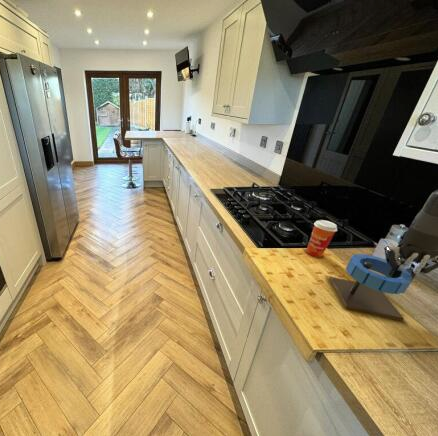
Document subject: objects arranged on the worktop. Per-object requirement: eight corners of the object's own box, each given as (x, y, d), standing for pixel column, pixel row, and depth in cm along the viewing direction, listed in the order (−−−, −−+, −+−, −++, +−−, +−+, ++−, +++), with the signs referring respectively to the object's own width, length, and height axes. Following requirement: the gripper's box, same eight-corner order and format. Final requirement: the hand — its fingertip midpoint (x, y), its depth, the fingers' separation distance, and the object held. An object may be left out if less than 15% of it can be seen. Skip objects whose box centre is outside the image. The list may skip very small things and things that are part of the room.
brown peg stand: (376, 288, 80) (395, 256, 74) (402, 321, 68) (428, 286, 62) (328, 279, 83) (344, 247, 77) (345, 308, 71) (364, 273, 65)
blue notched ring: (388, 269, 76) (394, 259, 74) (416, 299, 64) (424, 287, 62) (339, 260, 79) (344, 250, 78) (357, 287, 68) (363, 276, 66)
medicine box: (395, 269, 90) (407, 250, 86) (381, 266, 91) (392, 248, 87) (384, 258, 97) (394, 240, 93) (370, 255, 98) (380, 237, 94)
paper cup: (299, 249, 100) (310, 220, 94) (312, 247, 102) (324, 218, 96) (315, 260, 93) (329, 229, 87) (329, 257, 96) (343, 227, 89)
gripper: (407, 231, 61) (376, 282, 69) (478, 241, 57) (437, 294, 65) (390, 219, 67) (364, 267, 75) (453, 227, 64) (418, 277, 71)
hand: (398, 279), depth 70 cm, fingers closed on blue notched ring, 2 cm apart
